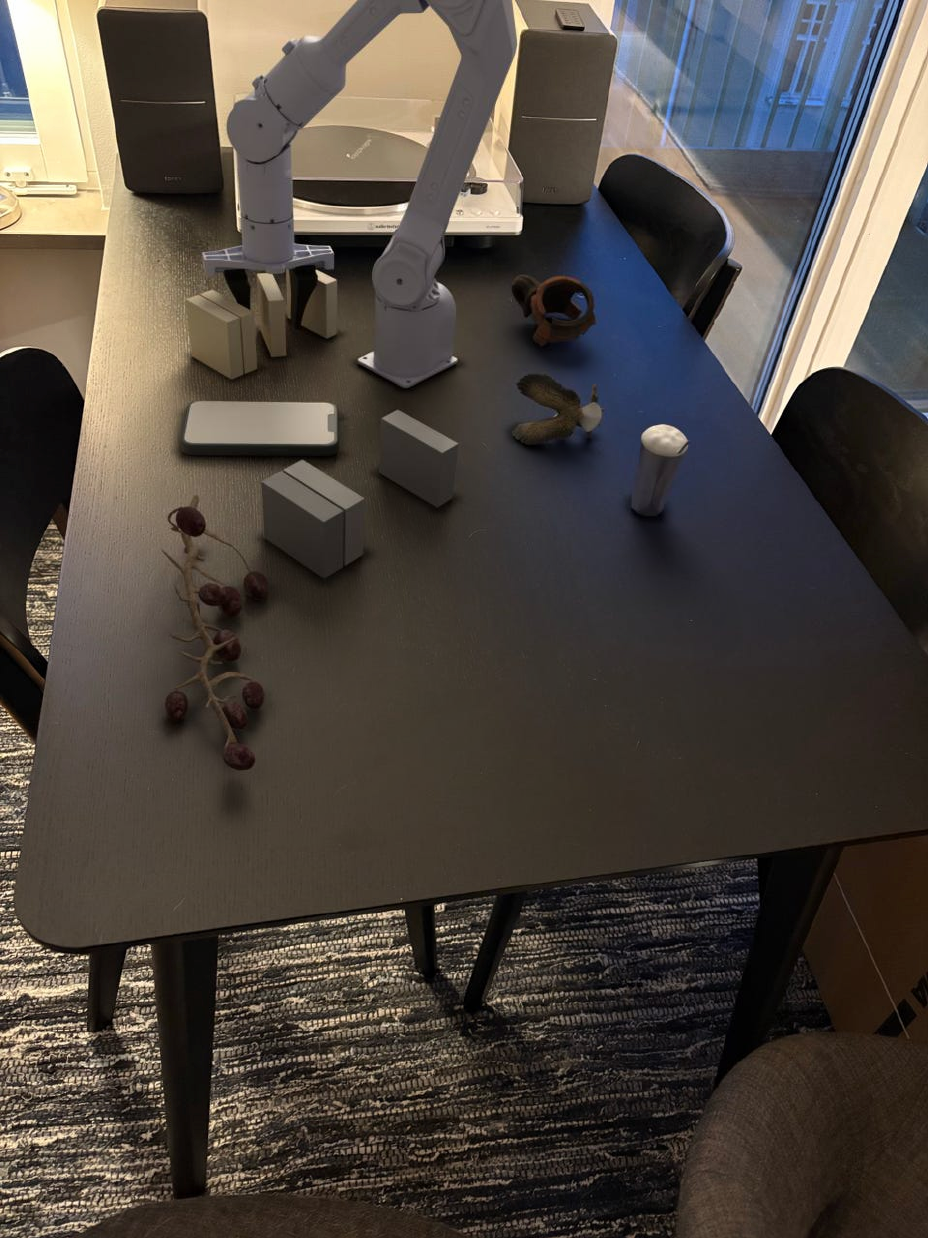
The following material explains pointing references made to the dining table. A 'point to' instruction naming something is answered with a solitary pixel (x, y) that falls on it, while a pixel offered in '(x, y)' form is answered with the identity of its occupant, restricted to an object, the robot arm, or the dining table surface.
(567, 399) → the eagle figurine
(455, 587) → the dining table surface
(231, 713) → the decorative branch
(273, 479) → the grey books
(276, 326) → the cream square block
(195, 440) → the grey smartphone
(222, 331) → the cream books
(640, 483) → the milkshake
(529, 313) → the rusty ring housing
